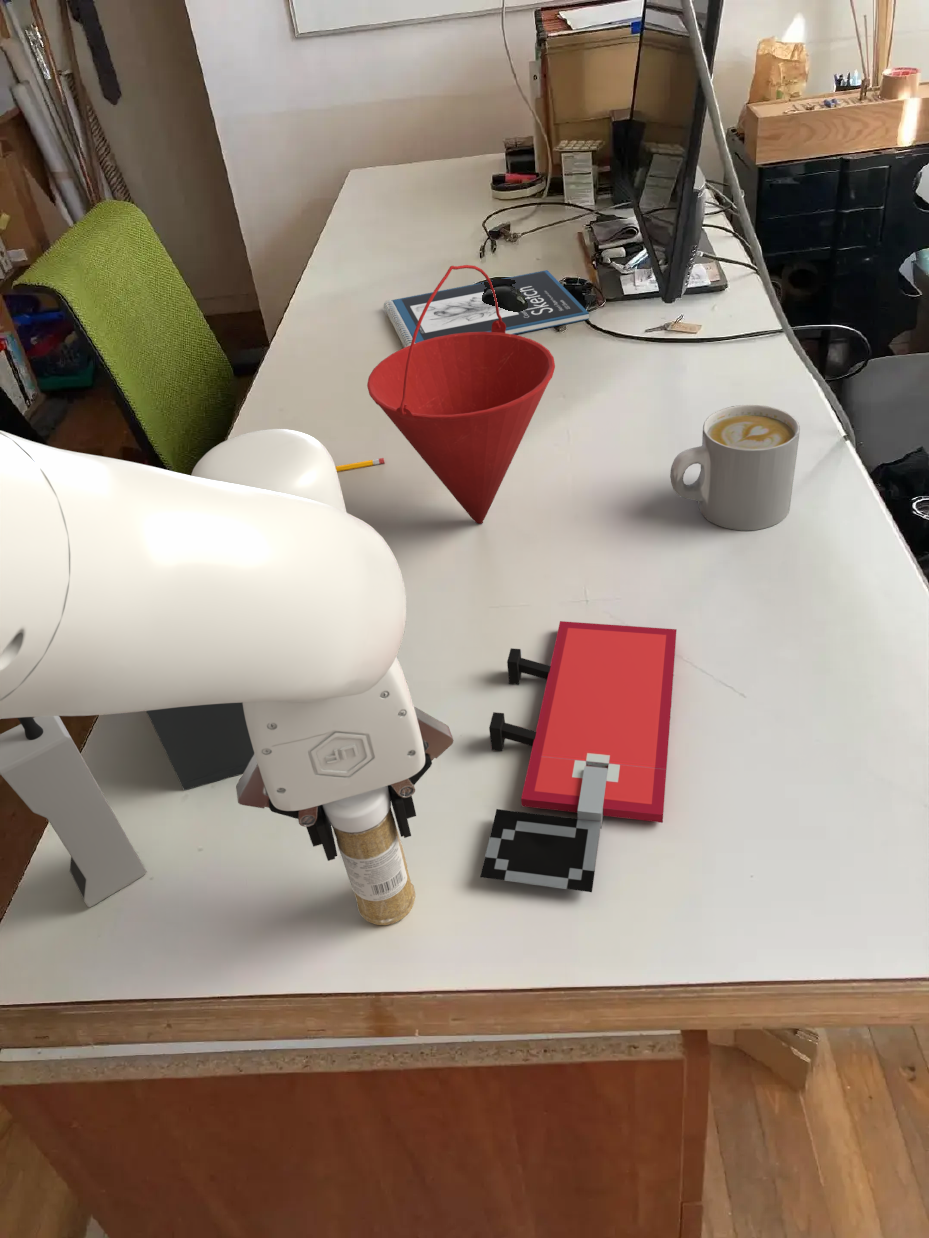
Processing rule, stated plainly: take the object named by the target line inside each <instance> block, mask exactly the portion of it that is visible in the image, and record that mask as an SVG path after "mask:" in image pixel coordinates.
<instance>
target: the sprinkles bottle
mask: <svg viewBox="0 0 929 1238" xmlns="http://www.w3.org/2000/svg"><path fill="white" fill-rule="evenodd" d="M322 806H323V809H324V812H325V815H326V818H327V820H328V822H329V823H330V824H331V827H332V831H333V835H334V837H335V839H336V845H337V848H338V850H339V854H340V856H341V860H342V863H343V865H344V868H345V871H346V874H347V878H348V880H349V885H350V887H351V889H352V890H353V894H354V896H355V899H356V903H357V904H356V905H357V910H358V912H359V915H360V916H361V917H362V918H363V919H364V920H365V921H366V922H367V923H370V924H374V925H376V926H387V925H388V926H389V925H392V924H395V923H397V922H399V921H402V919H404V918H405V917H406V916H408V914H409V913H410V912H411V910H412V908H413V906H414V904H415V900H416V890H415V887H414V884H413V882H411V881H412V880H411V877H410V874H409V868H408V862H407V858H406V854H405V850H404V846H403V843H402V840H401V839H400V835H399V834H400V833H399V830H398V827H397V823H396V821H395V820H396V819H395V816H394V812H393V811H392V810H393V809H392V803H391V797H390V793H389V788H388V785H387V786H384V787H381V788H378V789H374V790H371V791H368V792H364V793H361V794H358V795H354V796H351V797H347V798H344V799H340V800H337V801H333V802H330V803H326V804H323V805H322Z"/></svg>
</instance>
